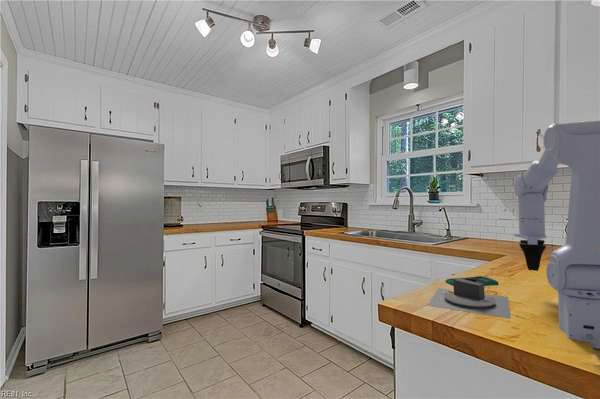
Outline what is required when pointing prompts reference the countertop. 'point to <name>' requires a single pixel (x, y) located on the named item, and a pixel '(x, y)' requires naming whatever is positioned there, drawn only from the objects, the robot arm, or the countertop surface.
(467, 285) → the dial
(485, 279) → the digital multimeter
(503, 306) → the dial panel
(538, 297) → the countertop surface
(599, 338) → the robot arm
